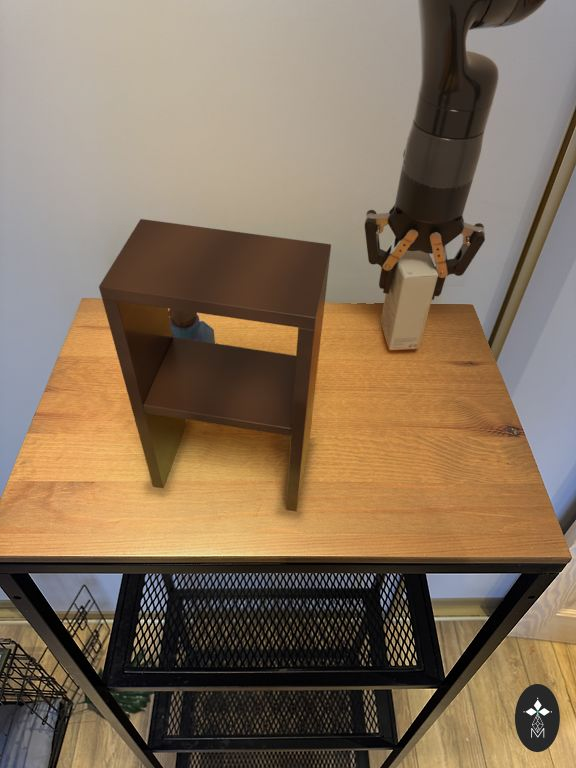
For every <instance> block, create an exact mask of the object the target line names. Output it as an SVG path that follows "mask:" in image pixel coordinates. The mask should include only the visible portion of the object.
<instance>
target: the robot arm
mask: <svg viewBox="0 0 576 768" xmlns="http://www.w3.org/2000/svg"><path fill="white" fill-rule="evenodd" d="M546 1H547V0H417V4H418V5H417V6H418V16H419V31H420V33H419V34H420V61H421V74H420V75H421V78H420V85H419V89H418V95H417V100H416V105H415V111H414V115H413V120H412V124H411V127H410V130H409V133H408V136H407V139H406V144H405V148H404V151H403V154H402V156H403V157H402V158H403V159H402V163H401V164H402V165H401V170H400V174H399V175H400V176H399V182H398V186H397V191H396V192H397V193H396V196H395V201H394V205H393V206H392V208H391V209H390V210H389V211H388V212H384V213H377V211H376V210H374V209H369V210H367V212H366V213H365V214H366V215H365V221H364V234H365V241H366V251H367V260H368V263H369V264H370V265H378V266H379V267H380V268H381V270H380V273H379V281H378V287H379V289H380V290H382V293H383V294H386V293H387V294H389V290H390V285H391V280H392V275H393V268H394V265H395V264H396V262H397V261H398V260H399V259H401V258H402V256H403V255H404V253H405V252H406V251H422V252H425V253H429V254H430V255H431V254H432V255H433V260H434V261H433V262H434V265H435V268H436V271H437V273H438V278H437V281H436V285H435V289H434V293H433V297H432V301H434V300H435V297H439V296H440V295H441V294H442V291H443V288H444V284H445V281H446V278H447V277H448V276H450V275H454V276H456V277H461V276H463V275H464V274H465V273H466V271H467V269H468V268H469V266H470V264H471V263H472V261H473V259H474V258H475V257H476V255H477V253H478V252H479V251H480V249H481V247H483V244H484V243H485V241H486V238H485V235H486V234H485V225H484V224H483V223H481V222H479V223H475V224H474V225H473V224H470V223H467V222H465V219H464V211H465V208H466V205H467V201H468V198H469V194H470V191H471V188H472V185H473V181H474V178H475V174H476V170H477V167H478V163H479V160H480V157H481V153H482V147H483V140H484V135H485V130H486V128H487V123H488V120H489V116H490V114H491V109H492V106H493V103H494V100H495V96H496V91H497V87H498V84H499V69H498V66H497V64H496V63H495V61H494V60H492V59H491V58H490V57H488V56H486V55H484V54H481V53H477V52H474V51H469V50H467V37H468V33H469V31H472V30H485V29H494V28H496V29H497V28H504V27H509V26H513V25H516V24H518V23H520V22H522V21H524V20H526V19H527V18H529V17H531V16H532V15H533V14H534V13H535V12H537V11H538V10H539V9H540V8H541V7H542V6H543V5H544V4H545V3H546ZM386 226H389V228H390V229H391V231H392V233H393V235H394V236H393V238H392V239H391V243H390V244H389V246H388V247H387V249H386V250H385V249H381V244H380V234H382V233H383V232H384V227H386ZM460 235H462V244H461V246H460V247H459V249H458V251H457V252H456V254H455V256H454V258H449V259H448V254H447V245H448V244H449V243H451V242H452V241H453V240H455V239H456V238H457V237H458V236H460Z"/></svg>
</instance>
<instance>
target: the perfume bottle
mask: <svg viewBox="0 0 576 768" xmlns="http://www.w3.org/2000/svg"><path fill="white" fill-rule="evenodd" d="M168 311H169V317H170V323H171V330H172V336H173V337H176V338H183V339H189V340H196V341H203V342H209V343H216V340H215V339H216V338H215V329H214V328H213V327H212V326H211V325H209V324H208V323H206V321H204V320H200V317H199V315H198V313H196V312H189V311H182V310H175V309H169V308H168Z"/></svg>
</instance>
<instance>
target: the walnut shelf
mask: <svg viewBox="0 0 576 768" xmlns="http://www.w3.org/2000/svg"><path fill="white" fill-rule="evenodd" d="M331 250H332V244H330V243H324V242H316V241H309V240H303V239H302V240H301V239H293V238H286V237H279V236H271V235H263V234H257V233H250V232H241V231H233V230H226V229H220V228H212V227H206V226H205V227H204V226H199V225H198V226H197V225H190V224H189V225H188V224H184V223H183V224H182V223H174V222H166V221H161V220H152V219H144V218H140V219H139V221H138V222H137V224H136V226H135V227H134V228H133V230H132V232H131V234H130V235H129V237H128V238H127V240H126V241H125V243H124V245H123V246H122V248H121V250H120V252H119V253H118V255H117V256H116V258H115V259H114V261H113V263H112V265H111V266H110V268H109V269H108V271H107V272H106V274H105V276H104V277H103V279H102V280H101V282H100V284H99V285H98V289H99V292H100V297H101V299H102V300H101V301H102V305H103V307H104V311H105V315H106V318H107V322H108V326H109V330H110V333H111V337H112V341H113V345H114V349H115V352H116V355H117V360H118V363H119V368H120V371H121V374H122V377H123V381H124V386H125V389H126V392H127V396H128V401H129V405H130V407H131V411H132V415H133V419H134V423H135V426H136V430H137V433H138V436H139V440H140V445H141V446H142V447H141V448H142V451H143V455H144V459H145V462H146V466H147V470H148V473H149V477H150V480H151V485H152V487H153V488H159V489H164V488H165V485H166V483H167V480H168V477H169V474H170V471H171V468H172V465H173V463H174V460H175V457H176V454H177V452H178V450H179V447H180V445H181V441H182V439H183V436H184V432H185V431H186V427H187V425H188V424H187V420H188V421H193V422H199V423H206V424H212V425H216V426H217V425H219V426H222V427H223V426H224V427H229V428H236V429H243V430H247V431H255V432H260V433H266V434H273V435H277V436H278V435H279V436H285V437H290V440H289V441H290V443H289V454H288V455H289V458H288V471H287V484H286V485H287V486H286V498H285V499H286V500H285V510H286V511H291V512H294V513H295V512H297V511H298V507H299V501H300V496H301V490H302V485H303V479H304V474H305V468H306V463H307V457H308V451H309V446H310V439H311V431H312V430H311V429H312V422H313V421H312V420H313V412H314V403H315V395H316V386H317V385H316V384H317V376H318V366H319V356H320V350H321V341H322V332H323V331H322V330H323V323H324V322H323V320H324V315H325V314H324V313H325V305H326V295H327V286H328V277H329V270H330V269H329V268H330V259H331ZM169 309H175V310H182V311H189V312H196V313H197V314H202V315H203V314H204V315H211V316H215V317H216V316H217V317H224V318H231V319H237V320H245V321H249V322H250V321H251V322H257V323H258V322H259V323H264V324H272V325H279V326H286V327H290V328H291V327H292V328H297V339H296V340H297V341H296V353H295V354H296V355H293V354H287V353H282V352H281V353H280V352H274V351H269V350H261V349H255V348H248V347H242V346H235V345H229V344H221V343H216V342H215V343H209V342H203V341H196V340H189V339H183V338H176V337H173V336H172V330H171V323H170V316H169Z"/></svg>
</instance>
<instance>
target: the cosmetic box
mask: <svg viewBox="0 0 576 768" xmlns="http://www.w3.org/2000/svg"><path fill="white" fill-rule="evenodd" d="M435 267H436V265H435V262H434V261H433V259H432V257H431V254H430V253H425V252H422V251H406V252H405V253H404V255H403V256H402V258H401V259H399V260H398V261H397V262H396V264H395V265H394V268H393V275H392V280H391V285H390V290H389V294H387V293H384V294H385V295H384V301H383V307H382V312H381V317H380V318H381V319H380V323H381V327H382V331H383V334H384V338H385V341H386V345H387V348H388V350H389V351H399V350H400V351H401V350H402V351H403V350H417V349H420V348H421V345H422V341H423V337H424V334H425V333H424V332H425V328H426V325H427V320H428V317H429V313H430V310H431V309H430V308H431V304H432V301H433V300H432V297H433V293H434V289H435V285H436V281H437V278H438V273H437V271H436V268H435Z"/></svg>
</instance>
